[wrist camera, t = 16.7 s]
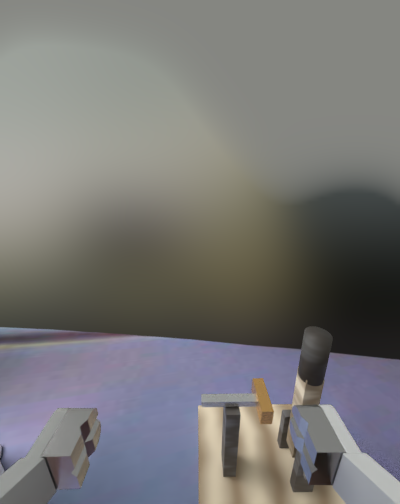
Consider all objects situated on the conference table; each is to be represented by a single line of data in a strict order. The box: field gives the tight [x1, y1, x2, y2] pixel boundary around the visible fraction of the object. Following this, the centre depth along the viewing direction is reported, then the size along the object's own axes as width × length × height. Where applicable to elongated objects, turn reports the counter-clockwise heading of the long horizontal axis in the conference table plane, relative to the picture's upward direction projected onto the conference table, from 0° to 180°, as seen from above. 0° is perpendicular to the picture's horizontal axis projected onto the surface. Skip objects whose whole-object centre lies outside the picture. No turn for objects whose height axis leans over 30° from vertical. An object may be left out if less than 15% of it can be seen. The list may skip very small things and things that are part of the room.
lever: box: [286, 327, 333, 458], centre depth 31 cm, size 3×3×22 cm
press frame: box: [198, 404, 346, 504], centre depth 34 cm, size 24×20×16 cm
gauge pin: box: [202, 378, 274, 424], centre depth 31 cm, size 10×5×2 cm, turn 91°
